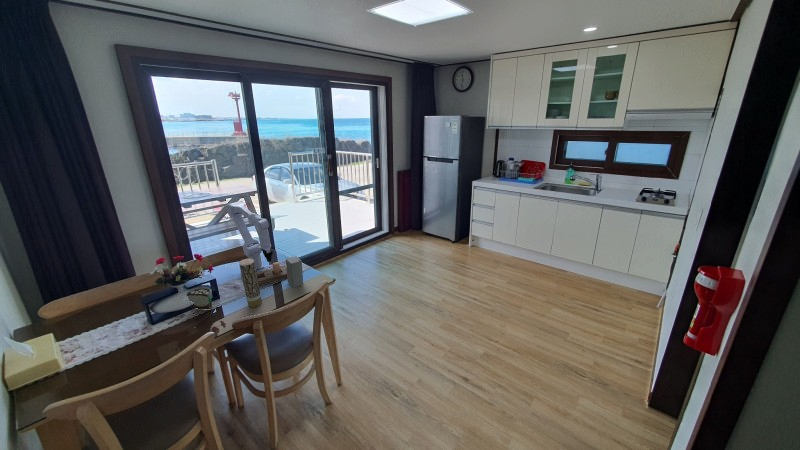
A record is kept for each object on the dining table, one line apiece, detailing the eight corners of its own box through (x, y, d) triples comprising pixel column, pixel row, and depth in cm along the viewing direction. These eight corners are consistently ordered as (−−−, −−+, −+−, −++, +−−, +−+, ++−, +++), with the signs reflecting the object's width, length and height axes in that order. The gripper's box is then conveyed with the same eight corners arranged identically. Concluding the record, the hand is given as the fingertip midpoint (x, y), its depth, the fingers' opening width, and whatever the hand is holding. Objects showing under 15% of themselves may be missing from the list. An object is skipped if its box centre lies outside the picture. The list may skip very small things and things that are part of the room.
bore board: (248, 279, 186) (247, 274, 185) (285, 269, 197) (284, 265, 196) (251, 288, 177) (250, 283, 176) (290, 277, 188) (289, 272, 187)
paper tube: (256, 308, 158) (248, 265, 150) (245, 307, 160) (235, 264, 151) (264, 301, 165) (256, 259, 156) (253, 299, 166) (245, 258, 157)
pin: (273, 274, 190) (271, 263, 187) (280, 272, 192) (278, 261, 189) (274, 277, 187) (273, 265, 184) (281, 275, 189) (279, 264, 186)
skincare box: (287, 282, 182) (283, 258, 177) (298, 278, 187) (295, 254, 181) (293, 288, 176) (289, 263, 171) (305, 283, 181) (301, 259, 175)
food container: (220, 303, 163) (216, 287, 159) (212, 310, 157) (208, 294, 153) (198, 302, 164) (194, 286, 160) (190, 309, 158) (185, 292, 154)
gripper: (255, 236, 189) (258, 256, 194) (259, 244, 178) (263, 265, 183) (267, 234, 193) (270, 253, 198) (272, 241, 181) (275, 262, 186)
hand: (268, 259), depth 190 cm, fingers open, 7 cm apart
